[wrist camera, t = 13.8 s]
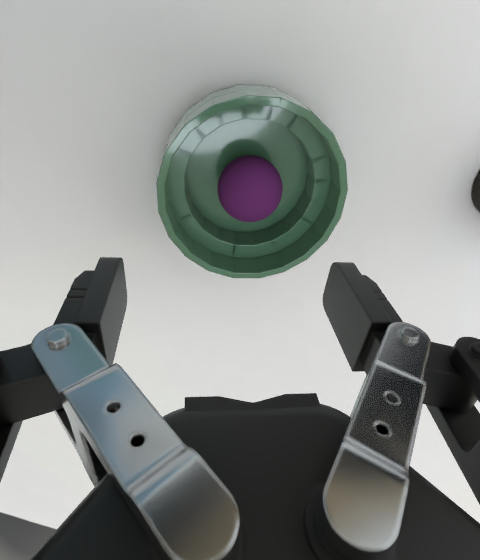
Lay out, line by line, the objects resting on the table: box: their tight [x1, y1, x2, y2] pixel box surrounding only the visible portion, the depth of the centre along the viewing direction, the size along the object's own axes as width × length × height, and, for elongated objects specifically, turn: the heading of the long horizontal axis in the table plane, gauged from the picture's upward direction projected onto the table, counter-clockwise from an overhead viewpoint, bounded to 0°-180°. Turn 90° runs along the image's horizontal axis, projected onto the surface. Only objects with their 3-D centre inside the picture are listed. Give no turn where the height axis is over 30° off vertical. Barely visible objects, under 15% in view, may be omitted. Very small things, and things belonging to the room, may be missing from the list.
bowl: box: [157, 85, 348, 278], centre depth 31 cm, size 15×15×6 cm
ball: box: [218, 155, 283, 222], centre depth 31 cm, size 6×6×6 cm
